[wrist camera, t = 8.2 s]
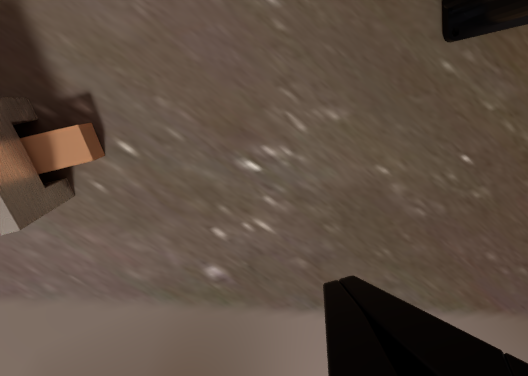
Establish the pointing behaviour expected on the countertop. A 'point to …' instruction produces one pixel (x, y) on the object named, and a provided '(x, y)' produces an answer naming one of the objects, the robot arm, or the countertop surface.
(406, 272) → the countertop surface
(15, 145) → the grey cube with knob
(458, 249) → the countertop surface
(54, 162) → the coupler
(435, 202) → the countertop surface
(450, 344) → the robot arm
